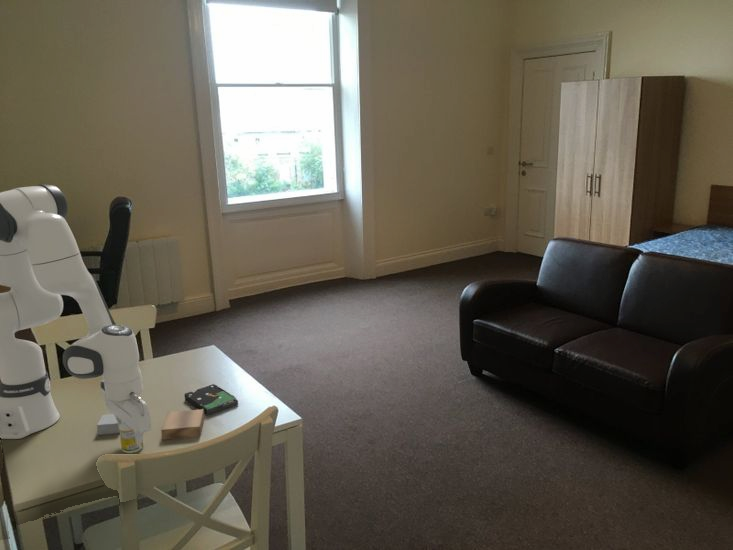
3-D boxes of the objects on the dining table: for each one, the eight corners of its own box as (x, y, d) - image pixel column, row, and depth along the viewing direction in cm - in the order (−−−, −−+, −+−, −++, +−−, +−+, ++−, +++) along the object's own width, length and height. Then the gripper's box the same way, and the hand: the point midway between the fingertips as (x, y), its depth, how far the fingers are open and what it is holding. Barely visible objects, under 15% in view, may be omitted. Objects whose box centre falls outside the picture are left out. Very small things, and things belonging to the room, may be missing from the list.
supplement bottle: (132, 455, 156) (128, 421, 153) (117, 451, 158) (112, 418, 155) (148, 445, 160) (144, 412, 158) (132, 441, 162) (128, 408, 160)
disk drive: (184, 402, 186) (208, 418, 175) (183, 393, 185) (207, 409, 174) (214, 391, 192) (239, 406, 182) (213, 383, 192) (238, 397, 181)
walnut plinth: (162, 439, 163) (161, 429, 162) (168, 421, 172) (167, 412, 172) (200, 436, 164) (199, 426, 163) (204, 418, 174) (203, 409, 173)
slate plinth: (98, 434, 166) (96, 425, 165) (104, 424, 172) (102, 414, 171) (121, 432, 167) (119, 423, 166) (126, 422, 173) (125, 412, 172)
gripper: (154, 395, 149) (160, 445, 153) (120, 372, 164) (126, 418, 167) (129, 404, 145) (136, 455, 149) (96, 379, 159) (103, 426, 163)
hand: (131, 435), depth 158 cm, fingers open, 8 cm apart
